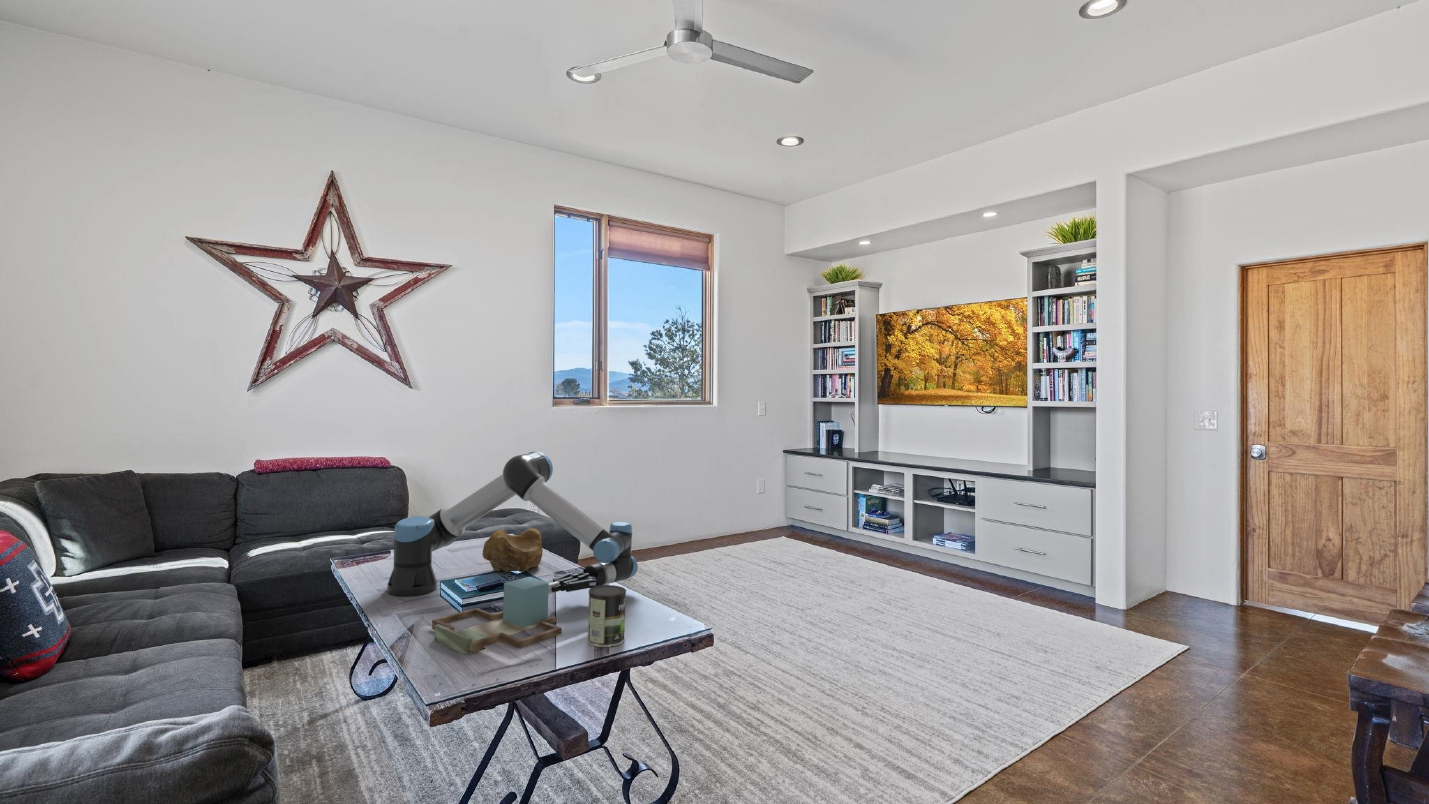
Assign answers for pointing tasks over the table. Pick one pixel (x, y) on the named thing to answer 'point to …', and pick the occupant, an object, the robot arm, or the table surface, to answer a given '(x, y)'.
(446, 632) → the trap lane
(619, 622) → the coffee can
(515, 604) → the teal block
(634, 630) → the table surface
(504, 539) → the rough brown rock
